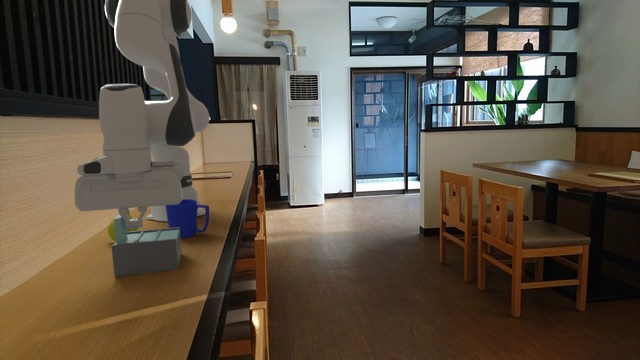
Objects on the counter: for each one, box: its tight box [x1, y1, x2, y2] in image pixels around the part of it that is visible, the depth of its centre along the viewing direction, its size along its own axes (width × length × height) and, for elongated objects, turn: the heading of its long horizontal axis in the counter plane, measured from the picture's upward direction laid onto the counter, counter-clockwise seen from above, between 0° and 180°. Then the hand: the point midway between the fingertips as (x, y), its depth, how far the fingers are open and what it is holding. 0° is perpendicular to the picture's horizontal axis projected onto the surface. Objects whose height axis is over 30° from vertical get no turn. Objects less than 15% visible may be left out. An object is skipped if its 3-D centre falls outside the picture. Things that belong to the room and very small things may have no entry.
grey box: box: [111, 227, 183, 278], centre depth 82 cm, size 10×12×7 cm
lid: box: [113, 214, 180, 244], centre depth 81 cm, size 8×12×6 cm
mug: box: [165, 199, 210, 239], centre depth 103 cm, size 8×12×10 cm
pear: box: [107, 208, 139, 243], centre depth 101 cm, size 7×7×10 cm
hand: (134, 227), depth 80 cm, fingers closed
